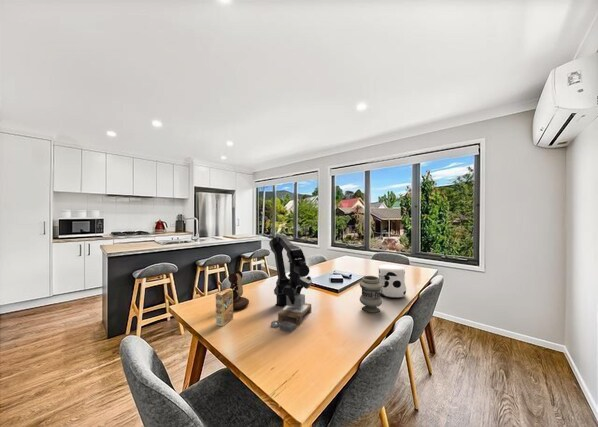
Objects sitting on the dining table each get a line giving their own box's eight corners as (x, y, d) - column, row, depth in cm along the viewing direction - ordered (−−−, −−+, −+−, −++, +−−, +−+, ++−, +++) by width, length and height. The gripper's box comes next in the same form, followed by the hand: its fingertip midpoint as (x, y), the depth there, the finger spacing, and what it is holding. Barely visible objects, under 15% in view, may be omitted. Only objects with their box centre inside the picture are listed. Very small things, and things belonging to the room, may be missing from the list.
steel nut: (269, 326, 111) (269, 323, 111) (273, 323, 115) (273, 320, 115) (276, 328, 109) (276, 325, 109) (280, 324, 113) (280, 321, 113)
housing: (301, 307, 118) (301, 296, 118) (286, 305, 121) (286, 294, 121) (304, 303, 124) (304, 292, 124) (290, 301, 126) (290, 291, 126)
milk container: (408, 293, 153) (407, 266, 153) (403, 302, 138) (403, 272, 138) (380, 289, 162) (380, 263, 162) (374, 297, 148) (374, 268, 147)
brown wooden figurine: (242, 312, 127) (242, 275, 127) (217, 310, 129) (217, 274, 129) (252, 302, 141) (252, 269, 141) (230, 300, 144) (229, 268, 144)
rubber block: (279, 329, 108) (279, 324, 108) (284, 326, 112) (284, 321, 112) (290, 333, 105) (290, 327, 105) (295, 329, 109) (295, 324, 109)
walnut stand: (278, 320, 117) (278, 311, 117) (291, 308, 132) (291, 300, 132) (300, 324, 113) (300, 315, 113) (311, 311, 127) (311, 303, 127)
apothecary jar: (355, 310, 128) (355, 277, 128) (365, 304, 137) (365, 273, 136) (376, 317, 120) (376, 282, 119) (386, 309, 128) (386, 277, 128)
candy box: (223, 326, 111) (222, 294, 111) (215, 325, 112) (215, 293, 112) (233, 318, 120) (233, 288, 119) (226, 317, 121) (226, 288, 121)
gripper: (302, 278, 110) (303, 311, 111) (315, 269, 128) (315, 297, 128) (281, 276, 115) (282, 307, 115) (296, 267, 132) (296, 295, 132)
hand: (295, 301), depth 122 cm, fingers closed on housing, 6 cm apart
